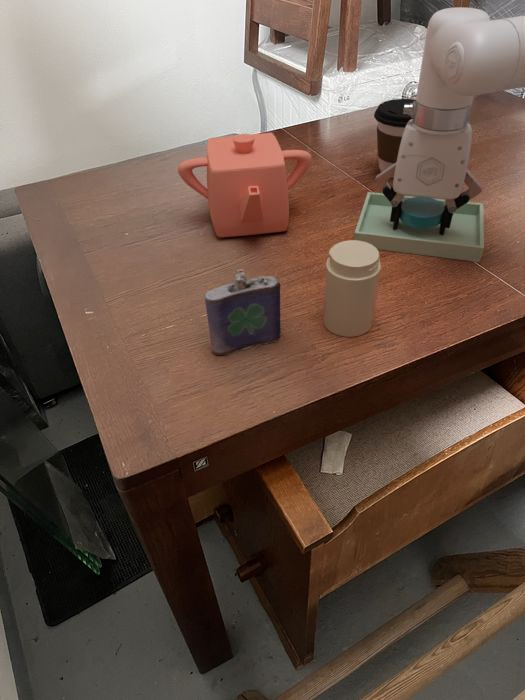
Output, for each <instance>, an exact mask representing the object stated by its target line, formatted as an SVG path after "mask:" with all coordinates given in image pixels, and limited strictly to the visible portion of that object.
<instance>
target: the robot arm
mask: <svg viewBox="0 0 525 700" xmlns="http://www.w3.org/2000/svg"><path fill="white" fill-rule="evenodd" d="M419 71H420V73H419V78H418V84H417V85H418V86H417V90H416V97H415V100H416V101H413V103H410V104H405V105H404V110H403V114H408V115H411V118H413V119H411V120H409V121H408V123H407V125H406V127H405V130H404V133H403V136H402V140H401V144H400V148H399V152H398V157H397V162H396V163H394V164H393V165H391V166H390V167H389V168H387V169H386V170H384V171H383V172H381V171H380V173H378V174H377V175H376V176H375V179H374V183H375V185H376V186H377V188H379V190H380V191H381V193H383V194H384V195H385V197H386V198H387V199H388V200H389V201H390V203H391V206H392V211H391V217H390V222H394V225H393V229H394V230H396V229H397V228H398V224H399V219H400V211H401V205H402V201H401V200H402V199H403V197H404V196H413V197H426V198H433V199H443V200H445V201H446V205H445V206H444V214H443V218H442V222H441V223H440V230H439V234H440V235H444V231H445V228H450V224H451V220H452V216H453V213H454V212H456V210H457V209H458V208H460V207H461V206H463V205H464V204H466V203H468V202H470V201H471V200H472V199H474V198H475V197H477V196H478V195H480V194H481V193H482V191H483V186H482V183H480V182H479V180H478V179H477V178H476V177H475V176H474V175H473V173H472V172H471V171H470V170H469V169H468V165H469V160H470V155H471V148H472V140H473V139H472V138H473V128H472V125H471V123H469V119H470V115H471V111H472V106H473V101H474V99H475V97H476V96H480V95H487V94H493V93H494V94H495V93H498V92H503V91H509V90H516V89H521V88H525V15H519V16H511V17H504V18H498V19H492V20H491V17H490V15H489V14H488V13H487V12H486V11H484V10H483V9H479V8H475V7H465V6H464V7H462V6H459V7H457V6H456V7H448V8H447V7H446V8H442V9H440V10H437V11H436V12H435V13H433V15H432V16H431V17H430V19H429V21H428V23H427V28H426V34H425V41H424V45H423V53H422V57H421V65H420V70H419ZM392 176H394V178H393V180H392V181H393V183H392V185H391V184H390V183H389V182H388V180H390V179H391V177H392ZM464 184H465V185H466V186H467V187H468V189H466V190H465V191H463V188H464Z"/></svg>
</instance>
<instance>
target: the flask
mask: <svg viewBox="0 0 525 700" xmlns="http://www.w3.org/2000/svg"><path fill="white" fill-rule="evenodd" d="M232 275H235V277H234V280H233V281H232V282H231V283H227V284H224V285H220V286H218V287H214V288H213V289H212V288H211V289H210V290H208V291H206V292H205V294H204V303H205V309H206V316H207V324H208V331H209V337H210V347H211V351H212V352H213V353H214V355H215V356H228V355H231V354H232V353H235V352H242V351H246V350H249V349H251V348H252V347H253V346H254V347H255V346H256V347H259V346H260V345H268V344H269V343H276V342H277V341H278V340H279V339H281V331H282V330H281V283H280V281H279V280H278V278H276V277H274V276H271V275H270V276H269V275H267V276H265V275H263V276H259V277H253V278H251V277H249V276H247V275H245V271H244V269H236V271H233V272H232Z"/></svg>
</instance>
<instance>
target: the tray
mask: <svg viewBox="0 0 525 700" xmlns="http://www.w3.org/2000/svg"><path fill="white" fill-rule="evenodd" d="M365 196H366V197H365V199H364V202H363V206H362V209H361V211H360V214H359V217H358V221H357V224H356V227H355V229H354V234H353V240H358V241H364V242H367V243H369V244H371V245H373V246H374V247H376V248H377V250H378V251H379V250H380V251H386V252H394V253H403V254H411V255H419V256H425V257H426V256H429V257H435V258H442V259H451V260H459V261H466V262H475V263H480V262H481V260H482V256H483V253H484V251H485V222H484V220H485V217H484V216H485V215H484V203H483V202H473V201H469V202H468V203H466V204H464V205H463V206H461V207H460V208H458V209H457V210H456V212H454V213H453V216H452V220H451V224H450V228H445V231H444V235H440V234H439V230H440V224H439V225H437V226H435V227H431V228H415V227H411V226H408V225H406V224H405V223H403V222H402V221H401V220H400V219H399V224H398V228H397V229H396V230H394V229H393V225H394V222H390V217H391V211H392V206H391V203H390V201H389V200H388V199H387V198H386V197H385V195H384V194H383V192H373V191H368V192H367V194H366V195H365ZM413 197H414V196H407V195H405V196H404V197H403V199H402V200H401V201H402V202H403V201H405V200H406V199H409V198H413ZM435 199H436V198H435ZM436 200H438V201H440V202H441V203H442V204H443V205H444V206H445V205H446V201H445V199H436Z"/></svg>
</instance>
